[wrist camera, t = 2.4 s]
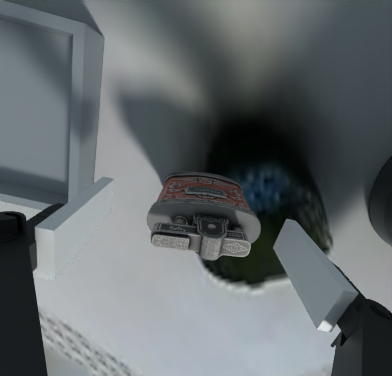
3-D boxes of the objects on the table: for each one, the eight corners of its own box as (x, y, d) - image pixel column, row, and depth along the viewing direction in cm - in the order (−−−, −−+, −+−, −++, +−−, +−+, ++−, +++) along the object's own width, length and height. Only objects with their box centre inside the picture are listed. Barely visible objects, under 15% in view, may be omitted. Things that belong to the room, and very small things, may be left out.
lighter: (244, 177, 21) (279, 231, 12) (237, 207, 22) (264, 278, 13) (165, 167, 21) (136, 214, 11) (163, 198, 22) (135, 263, 13)
